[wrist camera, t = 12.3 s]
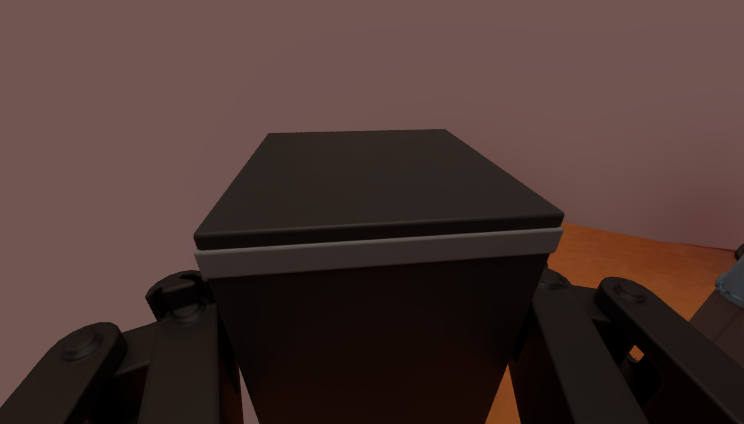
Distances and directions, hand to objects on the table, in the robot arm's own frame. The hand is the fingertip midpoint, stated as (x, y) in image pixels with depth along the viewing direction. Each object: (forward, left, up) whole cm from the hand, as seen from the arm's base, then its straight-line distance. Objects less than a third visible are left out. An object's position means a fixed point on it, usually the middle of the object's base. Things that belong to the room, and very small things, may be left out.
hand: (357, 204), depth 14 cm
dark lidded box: (+1, +5, -6) cm, 8 cm away
